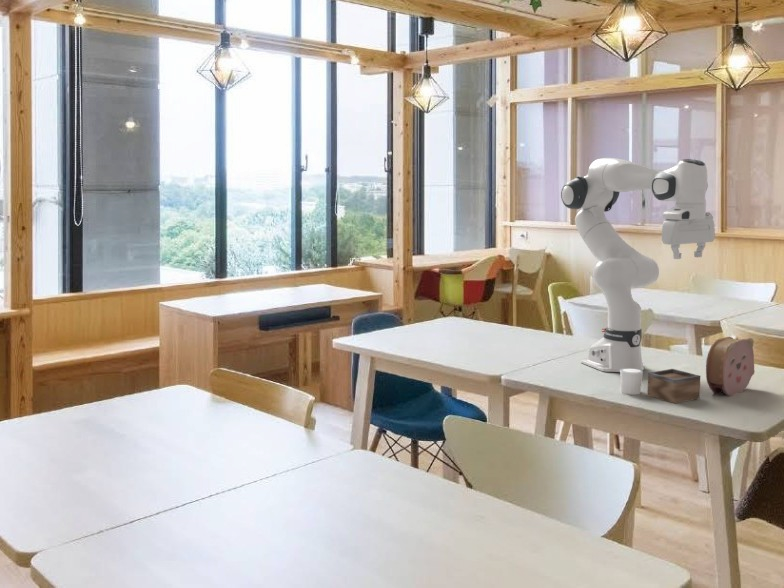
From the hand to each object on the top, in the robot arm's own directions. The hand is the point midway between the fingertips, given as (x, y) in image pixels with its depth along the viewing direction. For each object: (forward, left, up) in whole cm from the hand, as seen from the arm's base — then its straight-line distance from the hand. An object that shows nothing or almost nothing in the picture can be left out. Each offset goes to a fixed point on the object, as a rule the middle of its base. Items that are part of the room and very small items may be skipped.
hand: (687, 258), depth 249 cm
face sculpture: (+10, +10, -42) cm, 44 cm away
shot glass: (-5, -17, -42) cm, 45 cm away
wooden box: (+5, -10, -42) cm, 43 cm away
